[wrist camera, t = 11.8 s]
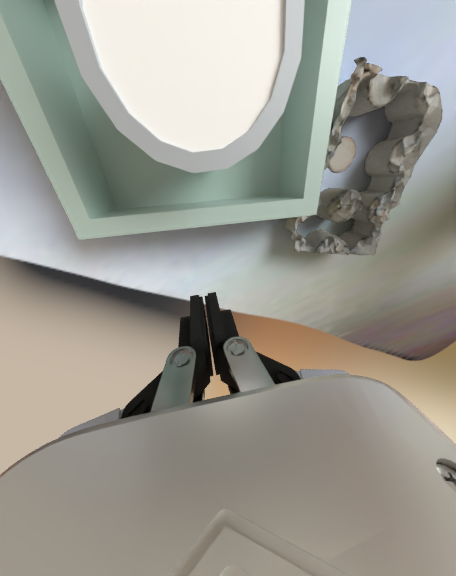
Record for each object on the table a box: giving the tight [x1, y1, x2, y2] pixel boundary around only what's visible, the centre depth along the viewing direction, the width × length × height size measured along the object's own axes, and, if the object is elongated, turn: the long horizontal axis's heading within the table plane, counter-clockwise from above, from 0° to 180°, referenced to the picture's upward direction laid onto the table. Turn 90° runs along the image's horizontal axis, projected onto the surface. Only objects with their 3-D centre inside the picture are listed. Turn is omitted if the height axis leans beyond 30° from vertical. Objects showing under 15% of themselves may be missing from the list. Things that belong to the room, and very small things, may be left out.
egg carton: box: [286, 57, 442, 255], centre depth 13 cm, size 11×8×4 cm
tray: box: [0, 0, 352, 240], centre depth 10 cm, size 14×12×4 cm
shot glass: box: [55, 0, 305, 173], centre depth 8 cm, size 7×7×7 cm
